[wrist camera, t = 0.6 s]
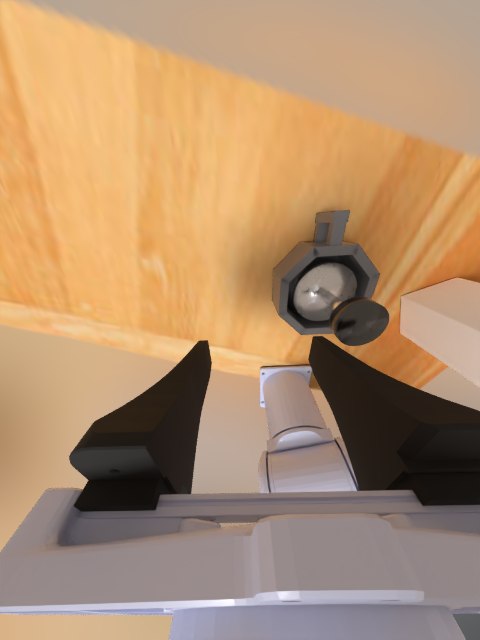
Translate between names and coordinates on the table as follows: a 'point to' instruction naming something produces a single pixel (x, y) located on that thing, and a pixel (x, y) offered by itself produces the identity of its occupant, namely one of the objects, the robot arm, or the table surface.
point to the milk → (446, 324)
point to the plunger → (339, 304)
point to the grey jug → (315, 254)
